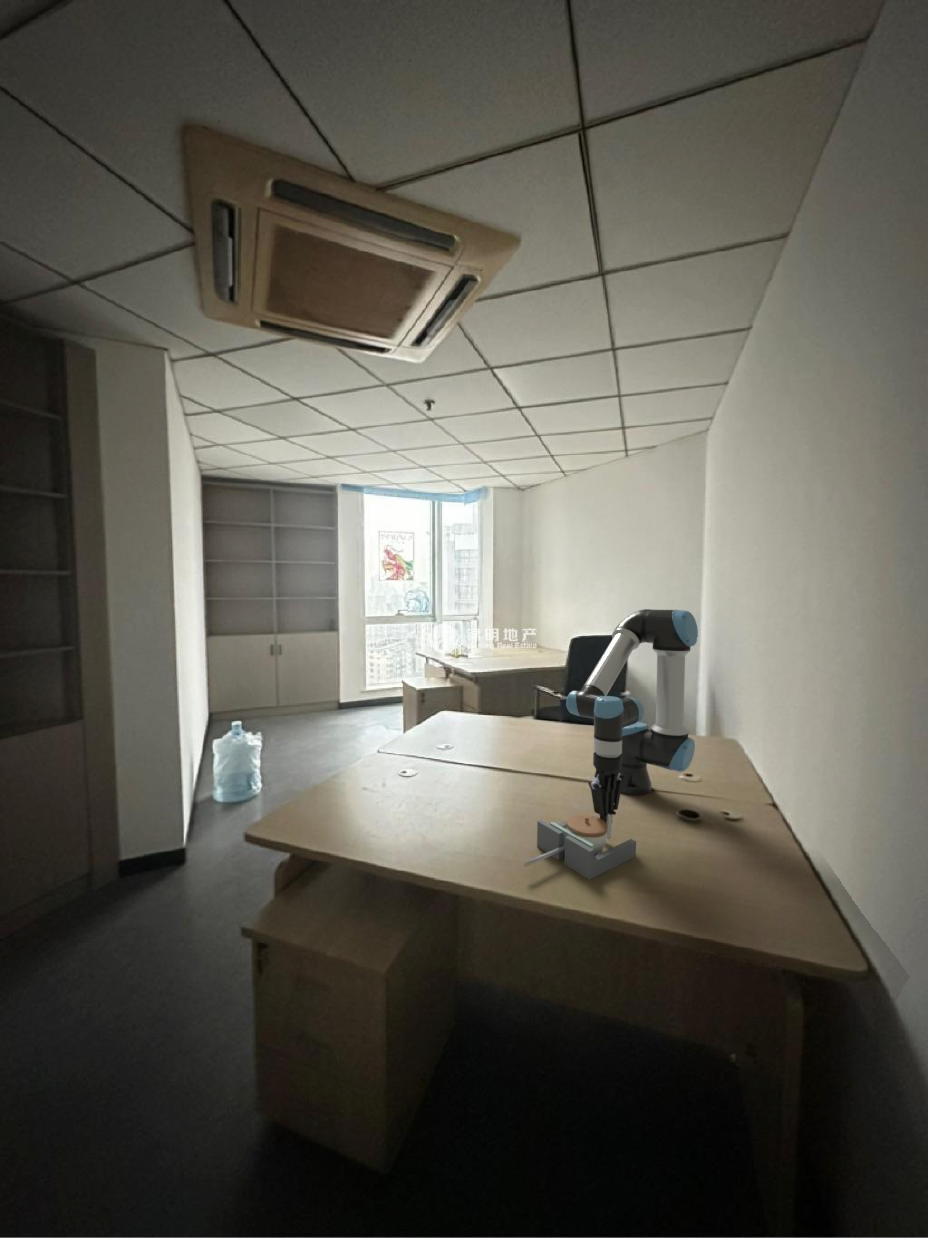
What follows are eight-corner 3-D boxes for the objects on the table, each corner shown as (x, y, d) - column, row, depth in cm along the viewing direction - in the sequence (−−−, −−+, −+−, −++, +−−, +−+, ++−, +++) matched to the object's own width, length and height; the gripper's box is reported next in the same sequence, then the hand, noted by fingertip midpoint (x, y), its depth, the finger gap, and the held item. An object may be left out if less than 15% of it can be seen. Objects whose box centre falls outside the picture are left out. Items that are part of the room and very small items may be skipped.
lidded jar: (610, 847, 124) (611, 813, 124) (602, 867, 115) (603, 831, 115) (571, 837, 130) (572, 804, 129) (560, 855, 120) (561, 820, 120)
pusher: (552, 843, 125) (553, 821, 125) (593, 868, 114) (594, 844, 113) (506, 862, 116) (506, 839, 115) (545, 891, 104) (546, 866, 104)
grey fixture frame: (582, 827, 135) (583, 804, 135) (635, 856, 120) (636, 830, 120) (537, 846, 125) (537, 821, 124) (589, 879, 110) (589, 851, 109)
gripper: (610, 745, 133) (609, 824, 134) (581, 753, 125) (579, 837, 126) (633, 752, 127) (631, 835, 128) (603, 761, 119) (601, 849, 120)
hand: (605, 836), depth 127 cm, fingers closed
